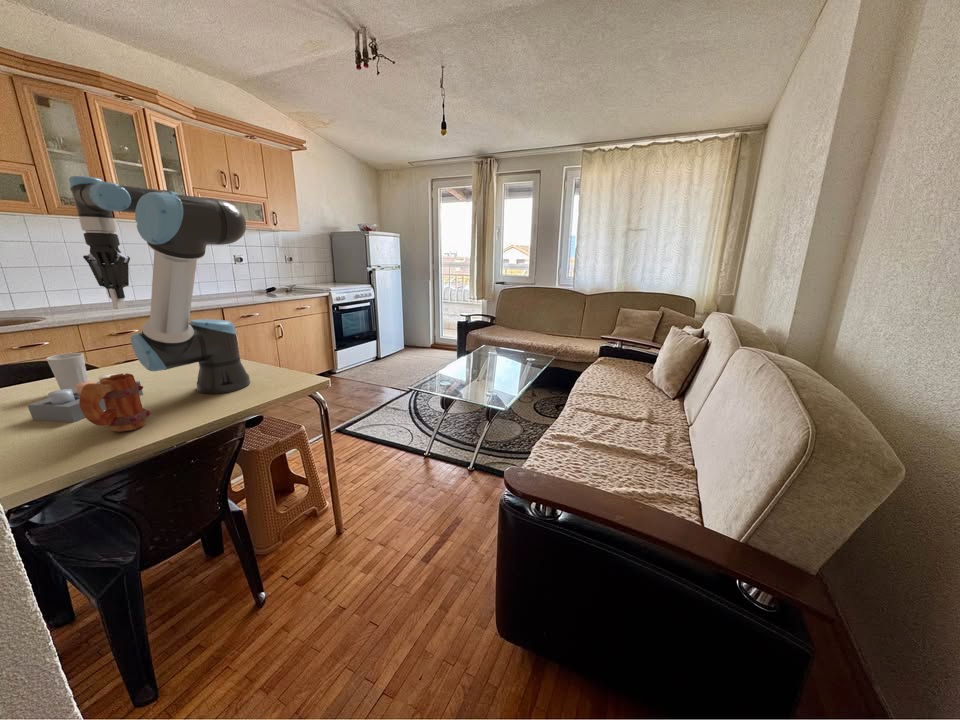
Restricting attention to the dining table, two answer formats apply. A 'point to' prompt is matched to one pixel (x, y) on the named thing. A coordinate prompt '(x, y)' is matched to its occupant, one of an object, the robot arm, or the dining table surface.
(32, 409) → the grey tray
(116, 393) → the mug
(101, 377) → the button ivory
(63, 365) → the cup
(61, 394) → the button slate
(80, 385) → the button terracotta
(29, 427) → the dining table surface
